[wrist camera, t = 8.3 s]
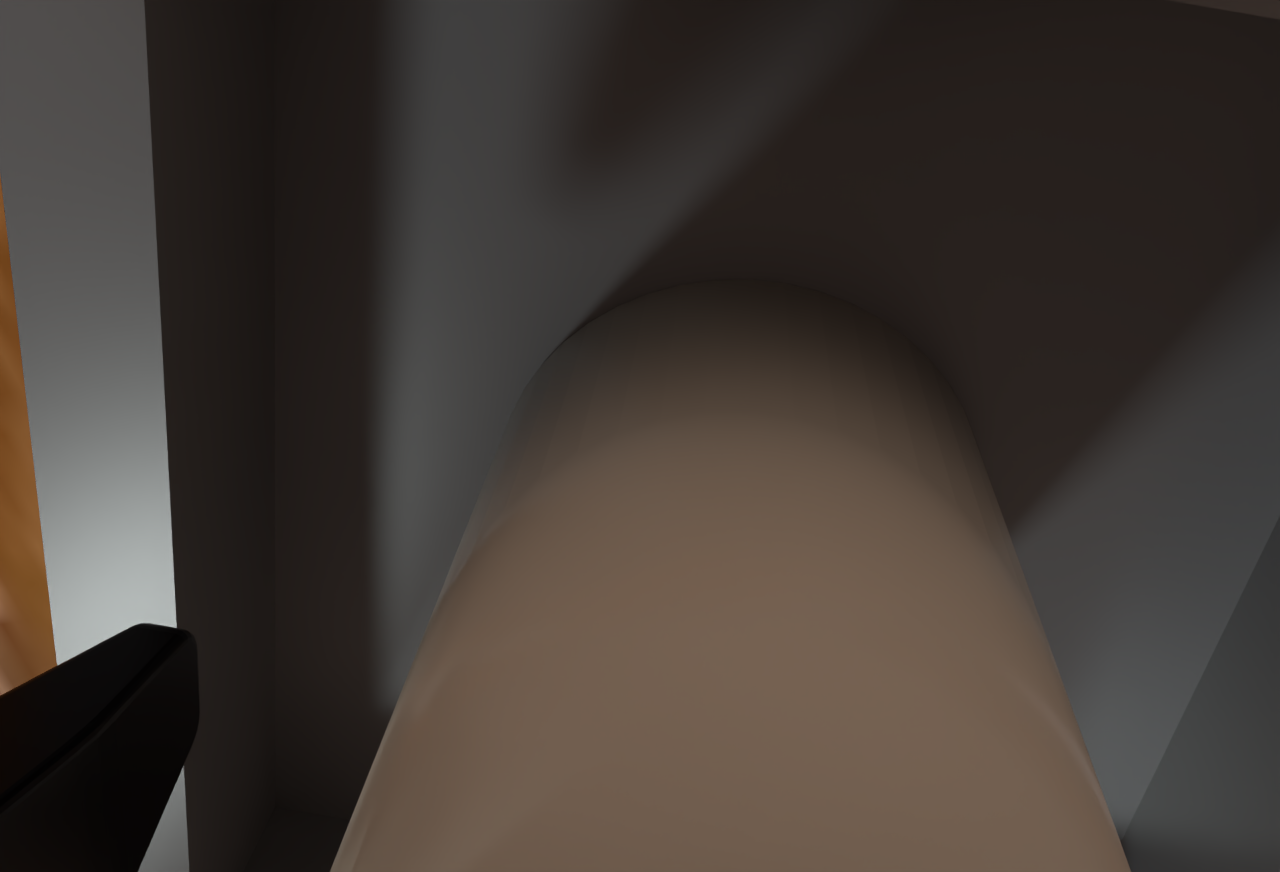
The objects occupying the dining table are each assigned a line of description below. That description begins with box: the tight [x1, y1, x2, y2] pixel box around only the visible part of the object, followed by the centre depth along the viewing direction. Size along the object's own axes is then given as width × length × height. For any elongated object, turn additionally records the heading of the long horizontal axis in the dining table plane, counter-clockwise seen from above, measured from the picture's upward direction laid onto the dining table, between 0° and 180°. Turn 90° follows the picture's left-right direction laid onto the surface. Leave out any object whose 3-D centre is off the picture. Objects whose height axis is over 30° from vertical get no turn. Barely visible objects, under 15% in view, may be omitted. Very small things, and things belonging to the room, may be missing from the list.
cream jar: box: [330, 280, 1131, 872], centre depth 9 cm, size 5×5×8 cm
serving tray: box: [0, 0, 1280, 872], centre depth 12 cm, size 13×14×4 cm
